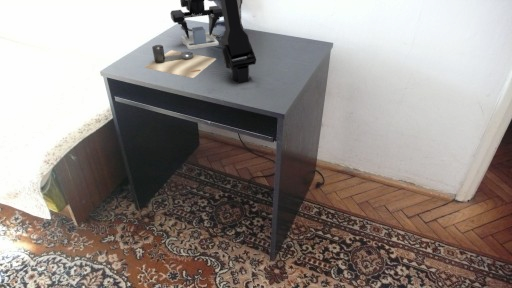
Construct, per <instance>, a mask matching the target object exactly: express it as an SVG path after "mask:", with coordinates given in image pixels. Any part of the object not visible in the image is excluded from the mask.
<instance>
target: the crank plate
mask: <svg viewBox="0 0 512 288" xmlns="http://www.w3.org/2000/svg"><path fill="white" fill-rule="evenodd" d="M182 52H183V51H178V50H172V49H170V50H169V51H168V52H166V53H164V55H165V57H166V56H173V55H179V54H181V53H182ZM216 60H217V58H215V57H210V56H203V55H199V54H194V53H193V58H191V59H177V60H170V61H165V62H163V63H156V62H155V60H154V61H152V62H151V63H149V64H147V65H145V66H144V67H143V68H144V69H148V70H153V71H157V72H162V73H168V74H172V75H178V76H180V77H181V76H182V77H187V78H192V79H195V78H196V77H197V76H198V75H199V74H200V73H201V72H203V71H204V70H205V69H206V68H208V67H209V66H210V65H211V64H212V63H214V62H215V61H216Z"/></svg>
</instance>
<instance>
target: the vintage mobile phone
mask: <svg viewBox="0 0 512 288" xmlns="http://www.w3.org/2000/svg"><path fill="white" fill-rule="evenodd" d="M237 3H238V9H239V16H240V22H241V27H242V29H243V30H244V26H243V24H242V5H243V0H237ZM244 31H245V30H244Z"/></svg>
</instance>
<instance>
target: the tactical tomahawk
mask: <svg viewBox="0 0 512 288" xmlns="http://www.w3.org/2000/svg"><path fill="white" fill-rule="evenodd" d="M180 28H182V29H183V27H182V25H180ZM187 28H188V32H193V31H192V29H191V28H189V27H188V26H187ZM205 33H207V31H205ZM212 35H213V36H214V37H215V39H221V37H222V36H224V34H223V35H222V34H215V33H213V32H212Z"/></svg>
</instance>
